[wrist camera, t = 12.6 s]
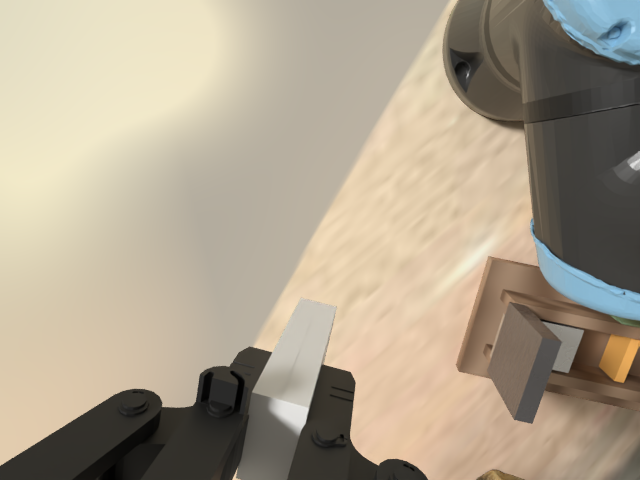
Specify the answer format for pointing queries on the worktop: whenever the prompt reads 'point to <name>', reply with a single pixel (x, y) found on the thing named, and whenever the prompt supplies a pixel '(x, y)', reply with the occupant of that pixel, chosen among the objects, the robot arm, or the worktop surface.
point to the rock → (498, 476)
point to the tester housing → (548, 304)
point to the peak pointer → (619, 356)
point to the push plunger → (529, 358)
